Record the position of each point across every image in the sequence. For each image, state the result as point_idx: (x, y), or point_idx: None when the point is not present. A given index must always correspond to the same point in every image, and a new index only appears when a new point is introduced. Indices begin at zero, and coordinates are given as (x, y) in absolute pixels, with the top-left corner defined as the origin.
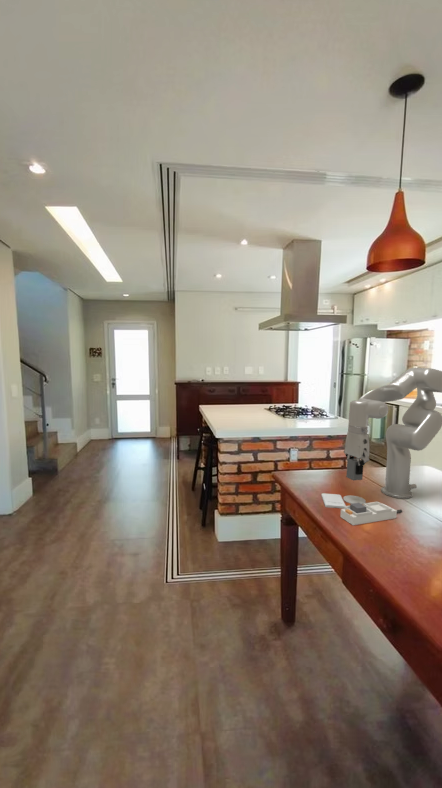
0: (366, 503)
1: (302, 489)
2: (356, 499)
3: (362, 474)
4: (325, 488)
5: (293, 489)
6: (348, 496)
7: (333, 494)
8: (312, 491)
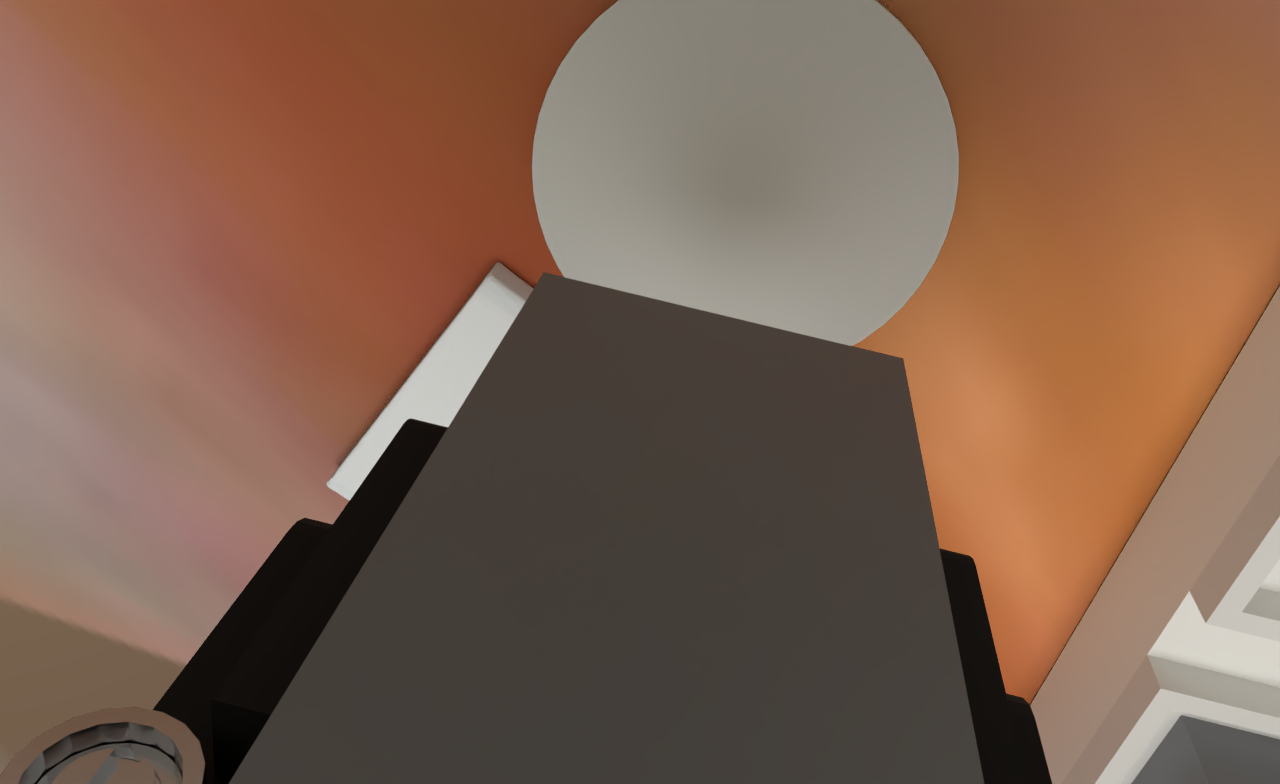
0: (1248, 582)
1: (58, 509)
2: (760, 153)
3: (922, 470)
4: (76, 172)
5: (39, 596)
6: (577, 162)
7: (434, 379)
8: (160, 454)
